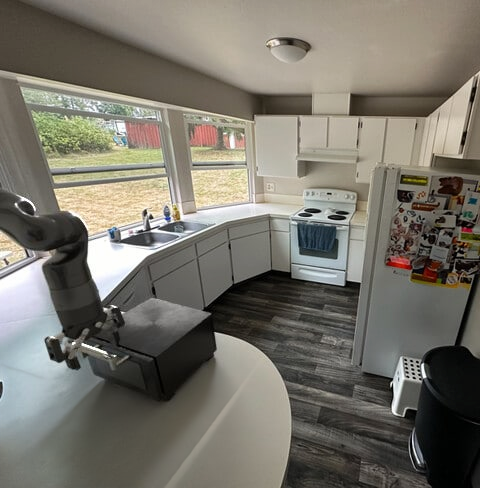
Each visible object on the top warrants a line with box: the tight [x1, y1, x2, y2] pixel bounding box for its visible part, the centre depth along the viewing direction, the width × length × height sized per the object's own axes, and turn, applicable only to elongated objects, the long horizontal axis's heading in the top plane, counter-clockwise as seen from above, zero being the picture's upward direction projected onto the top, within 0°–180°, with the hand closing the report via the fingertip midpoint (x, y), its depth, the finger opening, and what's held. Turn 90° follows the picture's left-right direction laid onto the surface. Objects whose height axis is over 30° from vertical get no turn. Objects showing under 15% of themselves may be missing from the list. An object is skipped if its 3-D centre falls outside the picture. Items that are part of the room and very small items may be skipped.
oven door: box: [77, 337, 164, 402], centre depth 66 cm, size 6×26×16 cm, turn 72°
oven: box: [92, 297, 218, 402], centre depth 79 cm, size 20×26×17 cm
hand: (97, 355), depth 62 cm, fingers open, 8 cm apart
